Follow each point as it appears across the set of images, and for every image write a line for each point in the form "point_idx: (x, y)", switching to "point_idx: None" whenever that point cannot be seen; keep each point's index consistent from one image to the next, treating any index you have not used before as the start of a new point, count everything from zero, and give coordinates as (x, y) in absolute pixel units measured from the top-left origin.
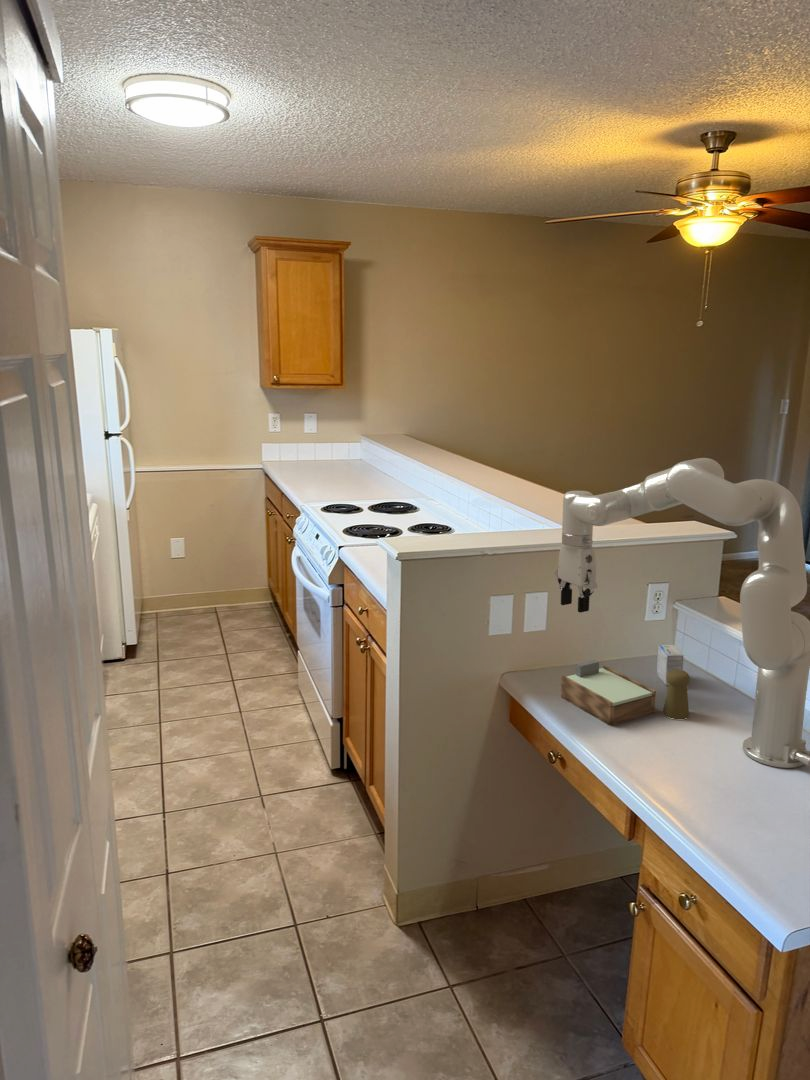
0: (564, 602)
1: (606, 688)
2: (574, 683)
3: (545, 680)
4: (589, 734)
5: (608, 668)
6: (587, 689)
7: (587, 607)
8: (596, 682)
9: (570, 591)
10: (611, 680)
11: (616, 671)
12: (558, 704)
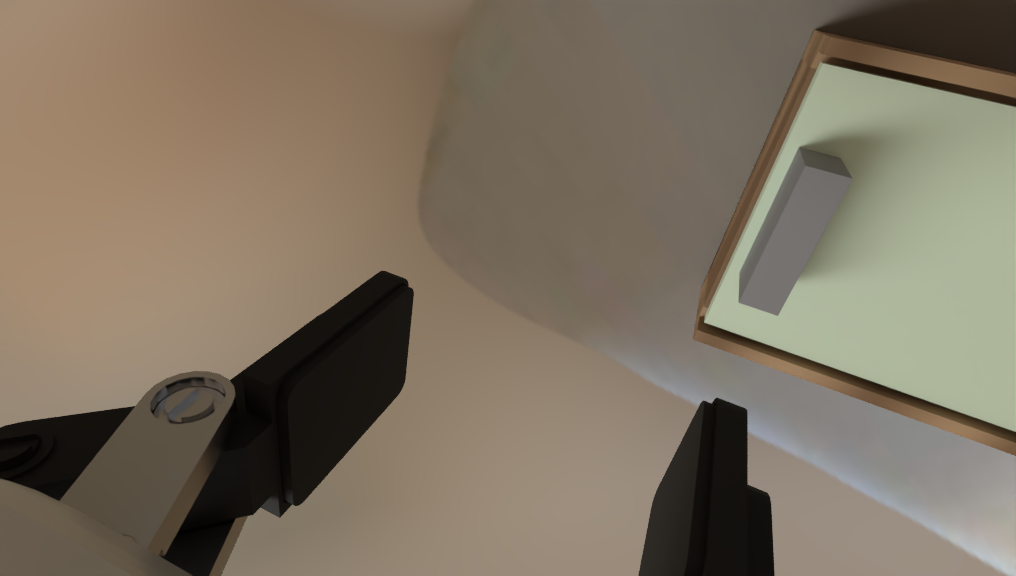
0: (389, 384)
1: (999, 328)
2: (796, 374)
3: (546, 188)
4: (990, 500)
5: (880, 62)
6: (905, 412)
7: (761, 507)
8: (897, 289)
9: (303, 399)
10: (980, 206)
11: (965, 67)
12: None
